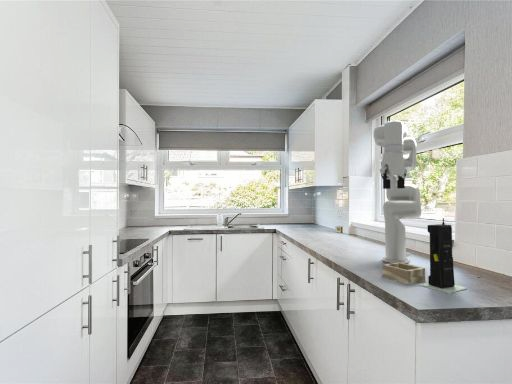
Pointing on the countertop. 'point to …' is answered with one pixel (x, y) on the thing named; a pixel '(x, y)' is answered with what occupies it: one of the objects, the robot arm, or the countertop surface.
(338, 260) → the countertop surface
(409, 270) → the wooden pocket
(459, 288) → the rubber mat
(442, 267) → the portable radio
